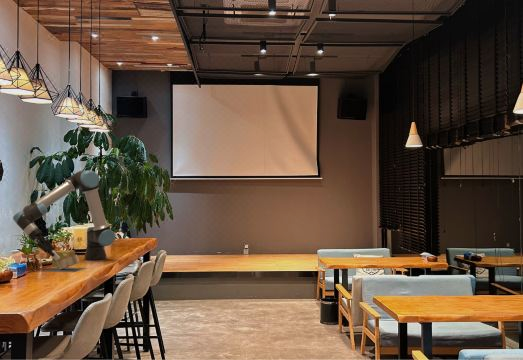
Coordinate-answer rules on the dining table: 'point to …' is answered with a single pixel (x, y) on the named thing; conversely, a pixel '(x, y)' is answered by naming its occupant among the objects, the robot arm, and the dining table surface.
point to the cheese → (63, 255)
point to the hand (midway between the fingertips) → (58, 259)
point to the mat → (63, 270)
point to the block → (67, 262)
